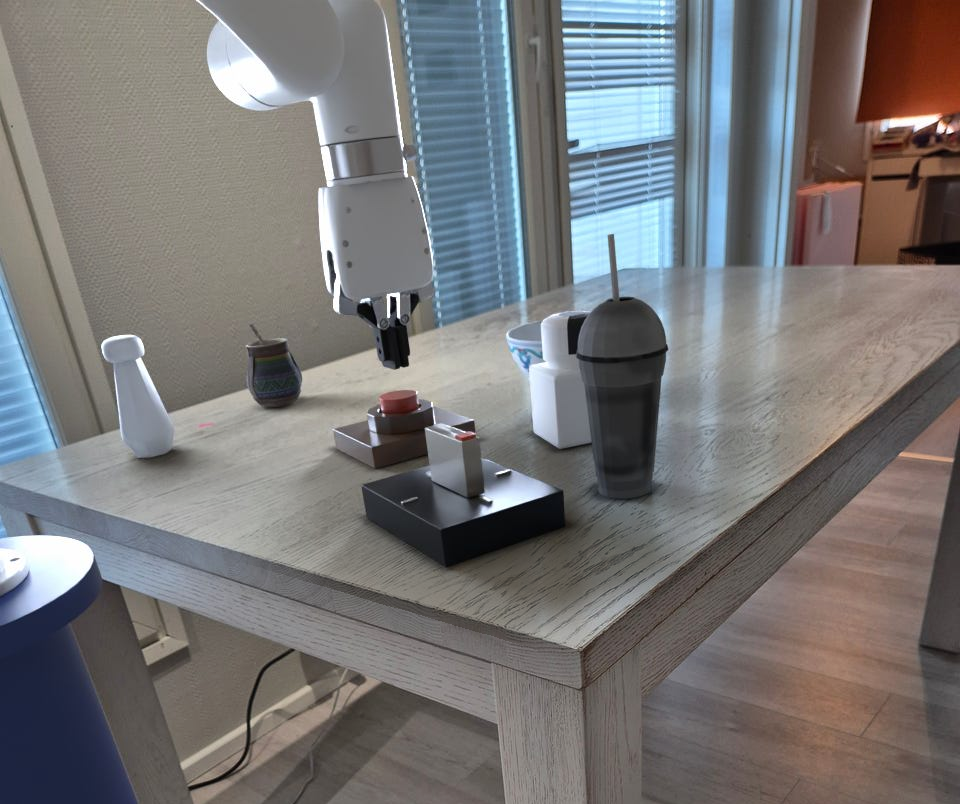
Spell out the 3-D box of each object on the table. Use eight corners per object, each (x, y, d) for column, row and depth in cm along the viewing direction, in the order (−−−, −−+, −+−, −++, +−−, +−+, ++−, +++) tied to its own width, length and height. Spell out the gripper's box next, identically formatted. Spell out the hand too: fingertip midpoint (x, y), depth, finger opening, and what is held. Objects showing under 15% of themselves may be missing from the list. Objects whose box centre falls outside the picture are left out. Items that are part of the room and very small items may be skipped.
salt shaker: (185, 451, 100) (152, 334, 93) (135, 463, 97) (98, 344, 91) (170, 441, 104) (138, 329, 98) (122, 453, 101) (86, 339, 95)
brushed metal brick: (431, 480, 72) (423, 424, 70) (447, 475, 72) (441, 420, 70) (467, 498, 67) (461, 438, 65) (485, 493, 68) (479, 433, 66)
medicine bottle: (594, 421, 93) (589, 304, 87) (623, 437, 87) (621, 312, 81) (532, 433, 91) (523, 314, 86) (558, 450, 85) (551, 323, 80)
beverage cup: (610, 511, 70) (601, 242, 60) (567, 487, 76) (553, 239, 66) (685, 491, 72) (688, 228, 62) (637, 469, 78) (634, 226, 68)
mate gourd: (272, 413, 112) (255, 332, 107) (240, 407, 116) (221, 330, 111) (316, 399, 116) (301, 321, 111) (283, 394, 121) (267, 319, 116)
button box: (375, 468, 86) (368, 429, 84) (336, 448, 94) (329, 412, 92) (476, 440, 91) (472, 402, 89) (431, 423, 99) (427, 388, 97)
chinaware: (552, 376, 113) (548, 314, 110) (657, 382, 105) (657, 315, 101) (487, 406, 103) (480, 340, 99) (598, 415, 95) (595, 343, 91)
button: (391, 419, 89) (389, 401, 88) (375, 412, 92) (372, 395, 91) (426, 410, 90) (423, 393, 89) (408, 404, 93) (406, 387, 92)
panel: (445, 567, 64) (440, 527, 62) (366, 517, 74) (360, 482, 73) (565, 526, 68) (563, 488, 67) (474, 485, 79) (471, 451, 77)
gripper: (416, 158, 86) (441, 348, 95) (274, 176, 80) (315, 377, 89) (454, 153, 80) (476, 356, 89) (304, 172, 74) (344, 388, 83)
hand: (395, 366), depth 89 cm, fingers closed
